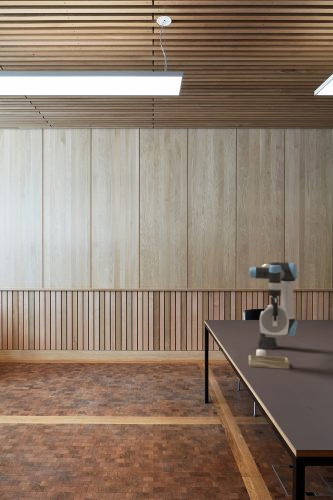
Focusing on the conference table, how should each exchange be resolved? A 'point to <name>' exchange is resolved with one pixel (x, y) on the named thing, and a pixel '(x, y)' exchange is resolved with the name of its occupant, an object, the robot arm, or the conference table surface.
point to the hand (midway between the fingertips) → (273, 324)
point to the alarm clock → (267, 323)
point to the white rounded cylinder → (260, 352)
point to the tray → (268, 362)
